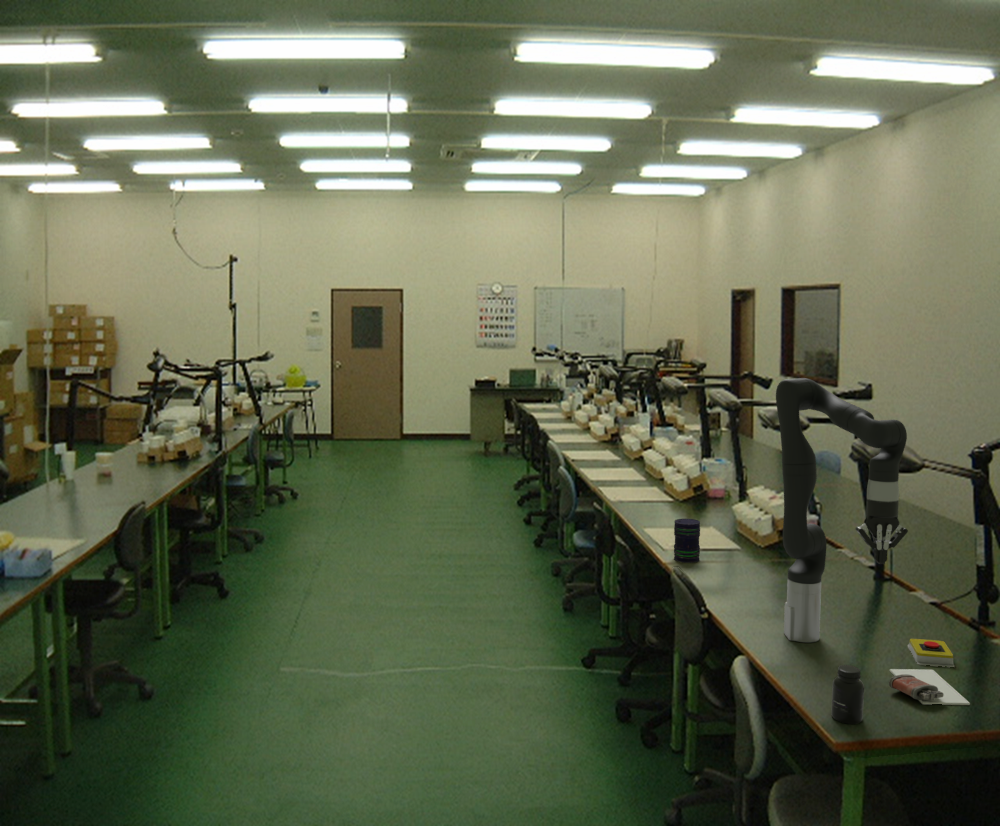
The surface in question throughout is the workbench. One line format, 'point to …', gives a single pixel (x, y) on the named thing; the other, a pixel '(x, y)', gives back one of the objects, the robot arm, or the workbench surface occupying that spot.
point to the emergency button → (931, 652)
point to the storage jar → (686, 540)
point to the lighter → (914, 687)
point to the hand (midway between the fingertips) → (880, 563)
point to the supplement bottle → (847, 695)
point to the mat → (934, 679)
